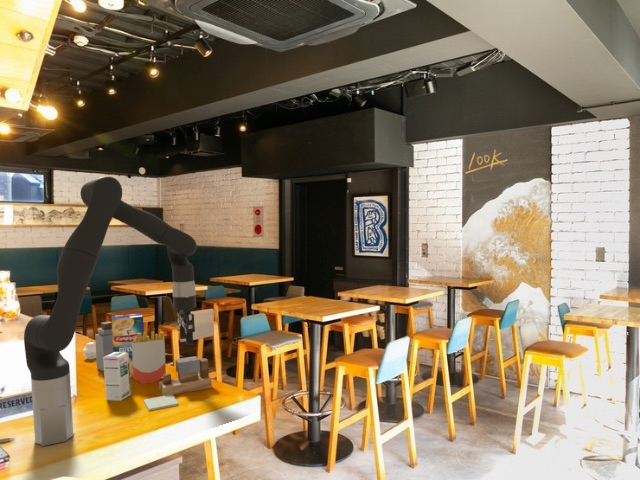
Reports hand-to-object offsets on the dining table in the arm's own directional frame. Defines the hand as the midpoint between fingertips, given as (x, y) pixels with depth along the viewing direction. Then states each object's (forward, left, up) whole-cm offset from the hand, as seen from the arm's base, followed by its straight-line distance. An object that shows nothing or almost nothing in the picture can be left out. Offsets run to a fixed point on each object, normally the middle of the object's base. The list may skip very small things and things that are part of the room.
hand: (186, 341), depth 173 cm
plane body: (0, +1, -16) cm, 16 cm away
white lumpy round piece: (+60, +26, -17) cm, 67 cm away
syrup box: (+4, +22, -16) cm, 28 cm away
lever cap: (0, 0, -10) cm, 10 cm away
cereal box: (+28, +15, -16) cm, 36 cm away
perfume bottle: (+41, +21, -17) cm, 49 cm away
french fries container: (+16, +10, -16) cm, 25 cm away
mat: (-9, +11, -16) cm, 22 cm away
